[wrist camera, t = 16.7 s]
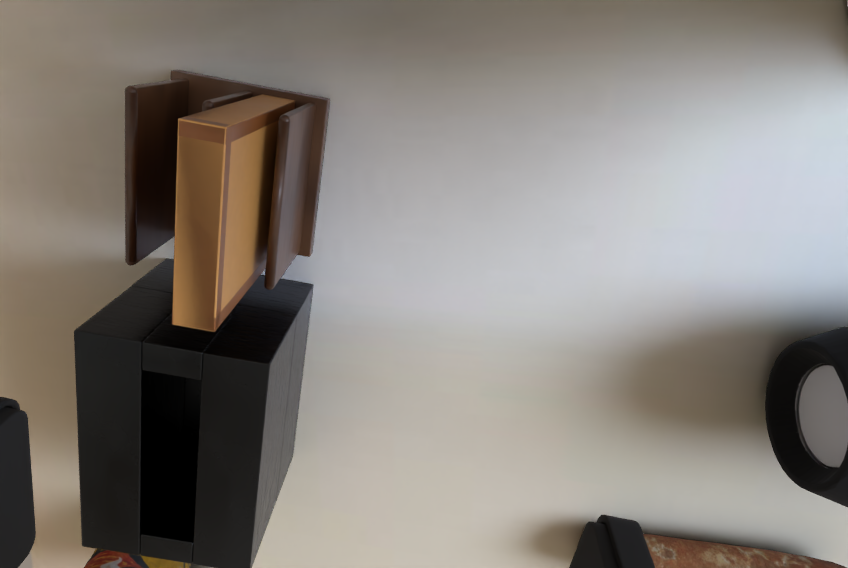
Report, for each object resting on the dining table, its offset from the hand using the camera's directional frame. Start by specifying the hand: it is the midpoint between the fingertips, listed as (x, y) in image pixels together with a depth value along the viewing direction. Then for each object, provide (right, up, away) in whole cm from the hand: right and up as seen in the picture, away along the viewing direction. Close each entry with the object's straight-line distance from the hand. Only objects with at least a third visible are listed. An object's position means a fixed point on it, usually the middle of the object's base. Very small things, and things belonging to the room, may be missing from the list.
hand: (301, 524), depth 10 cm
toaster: (-10, -1, +30) cm, 31 cm away
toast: (-6, +10, +24) cm, 27 cm away
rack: (-8, +11, +25) cm, 28 cm away
